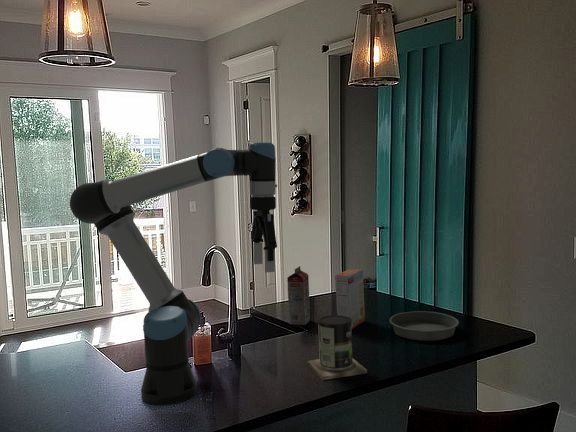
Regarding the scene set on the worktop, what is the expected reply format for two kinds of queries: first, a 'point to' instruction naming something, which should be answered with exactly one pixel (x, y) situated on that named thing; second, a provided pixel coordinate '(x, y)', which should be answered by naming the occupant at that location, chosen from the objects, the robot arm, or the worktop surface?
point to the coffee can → (335, 342)
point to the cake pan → (424, 325)
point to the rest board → (331, 374)
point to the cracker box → (350, 295)
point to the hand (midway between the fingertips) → (263, 267)
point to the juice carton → (298, 297)
